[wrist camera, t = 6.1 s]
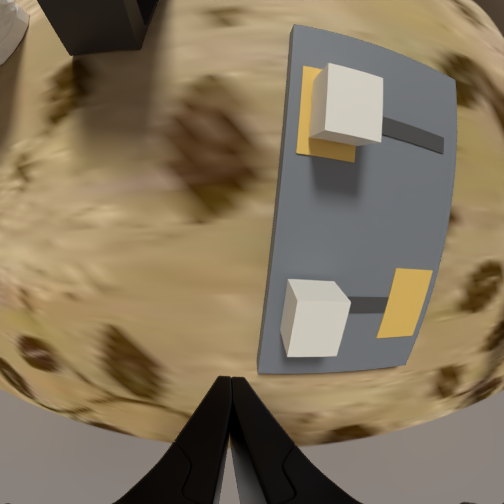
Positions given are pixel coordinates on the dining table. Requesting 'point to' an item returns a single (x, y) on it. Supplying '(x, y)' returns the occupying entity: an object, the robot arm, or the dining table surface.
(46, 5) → the phone stand
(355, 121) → the slider
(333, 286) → the slider
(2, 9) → the white cup
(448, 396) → the dining table surface
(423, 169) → the switch panel
